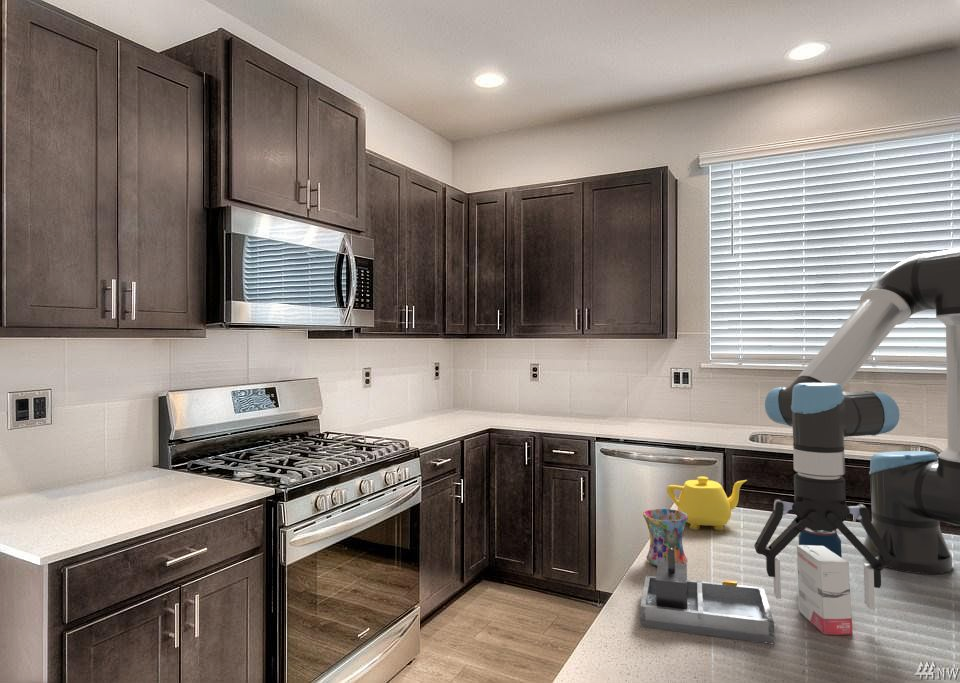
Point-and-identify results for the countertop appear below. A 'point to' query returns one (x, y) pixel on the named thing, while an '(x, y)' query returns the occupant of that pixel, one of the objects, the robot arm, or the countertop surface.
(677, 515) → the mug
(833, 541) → the soda can
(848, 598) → the ink box
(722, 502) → the teapot
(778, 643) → the countertop surface
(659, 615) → the divided grey tray
